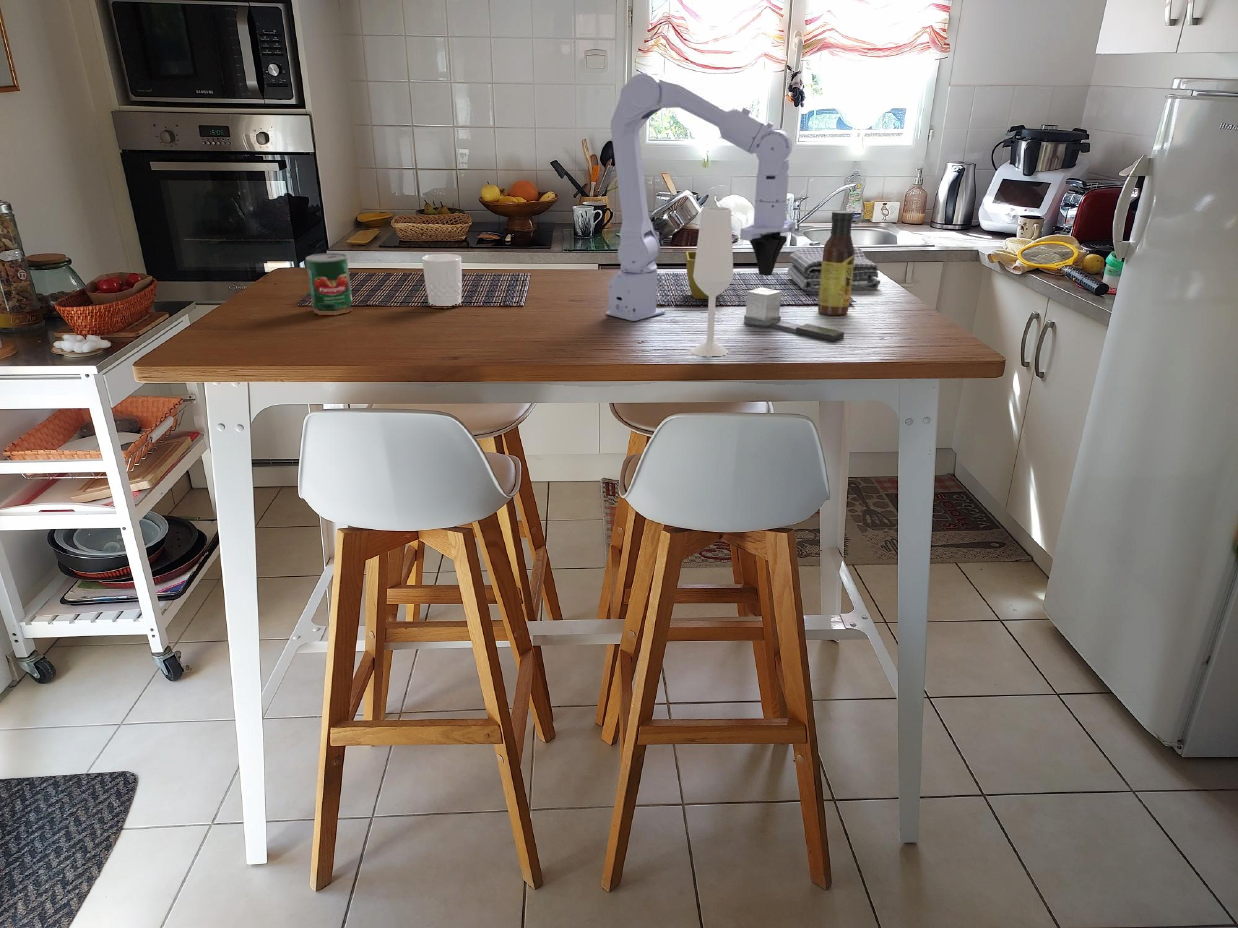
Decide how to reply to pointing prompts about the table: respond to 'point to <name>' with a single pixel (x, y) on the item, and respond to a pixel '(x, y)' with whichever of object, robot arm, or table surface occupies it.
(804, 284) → the towel
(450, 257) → the white cup
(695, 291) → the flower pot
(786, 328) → the ratchet
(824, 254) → the sauce bottle
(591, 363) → the table surface
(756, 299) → the white sugar cube
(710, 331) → the champagne flute
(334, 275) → the canned tomato
